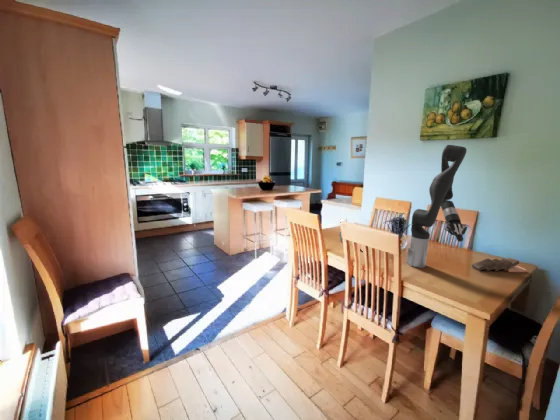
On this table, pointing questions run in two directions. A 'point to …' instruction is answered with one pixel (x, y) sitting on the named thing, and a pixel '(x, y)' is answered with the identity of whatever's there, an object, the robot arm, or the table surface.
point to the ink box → (343, 220)
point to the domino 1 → (483, 264)
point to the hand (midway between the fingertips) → (460, 241)
